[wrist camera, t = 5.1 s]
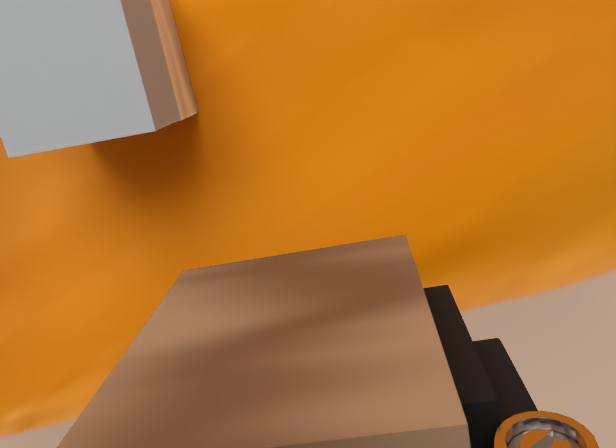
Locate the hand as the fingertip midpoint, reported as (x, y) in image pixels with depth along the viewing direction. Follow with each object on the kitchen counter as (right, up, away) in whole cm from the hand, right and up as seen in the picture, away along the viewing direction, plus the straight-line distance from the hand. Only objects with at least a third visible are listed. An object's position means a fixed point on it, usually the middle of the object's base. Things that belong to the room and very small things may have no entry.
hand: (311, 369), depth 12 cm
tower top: (-11, +11, +15) cm, 21 cm away
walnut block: (0, 0, +1) cm, 1 cm away
